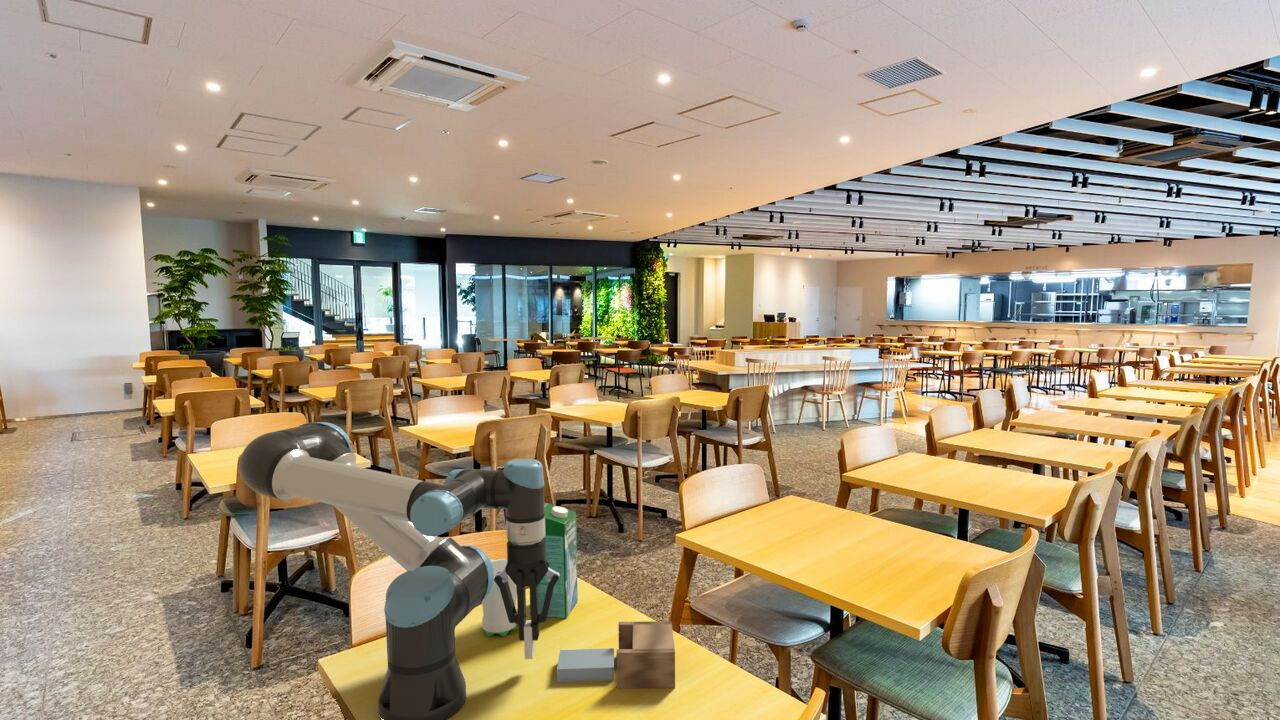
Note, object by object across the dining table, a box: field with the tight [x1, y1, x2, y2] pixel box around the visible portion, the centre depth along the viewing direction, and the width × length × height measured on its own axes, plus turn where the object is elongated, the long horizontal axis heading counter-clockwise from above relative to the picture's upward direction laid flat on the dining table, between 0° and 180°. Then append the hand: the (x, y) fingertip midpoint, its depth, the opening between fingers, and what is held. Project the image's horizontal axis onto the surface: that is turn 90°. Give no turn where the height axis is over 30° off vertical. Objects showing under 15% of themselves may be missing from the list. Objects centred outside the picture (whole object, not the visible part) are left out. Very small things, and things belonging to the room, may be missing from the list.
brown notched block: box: [616, 620, 676, 689], centre depth 124 cm, size 11×12×7 cm
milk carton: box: [529, 501, 578, 619], centre depth 150 cm, size 9×9×25 cm
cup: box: [481, 558, 518, 637], centre depth 140 cm, size 11×11×14 cm
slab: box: [556, 647, 615, 683], centre depth 124 cm, size 11×7×3 cm, turn 92°
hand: (529, 655), depth 124 cm, fingers closed
